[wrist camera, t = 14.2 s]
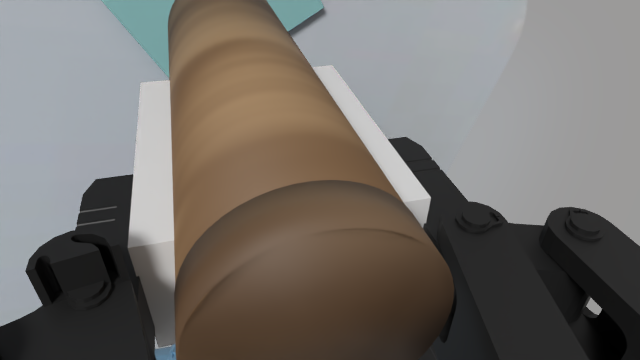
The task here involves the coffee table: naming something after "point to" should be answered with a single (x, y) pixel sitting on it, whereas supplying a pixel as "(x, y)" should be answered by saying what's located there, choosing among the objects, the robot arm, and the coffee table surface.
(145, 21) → the key mat
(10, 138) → the coffee table surface
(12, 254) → the coffee table surface
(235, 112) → the key peg
